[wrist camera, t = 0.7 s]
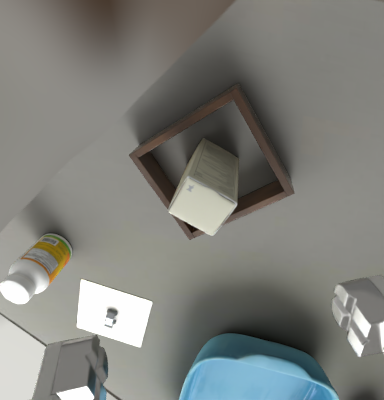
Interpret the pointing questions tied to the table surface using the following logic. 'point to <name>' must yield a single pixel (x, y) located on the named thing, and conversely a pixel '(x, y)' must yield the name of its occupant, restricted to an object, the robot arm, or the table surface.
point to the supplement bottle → (36, 268)
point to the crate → (142, 152)
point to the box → (207, 188)
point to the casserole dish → (254, 372)
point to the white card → (112, 313)
